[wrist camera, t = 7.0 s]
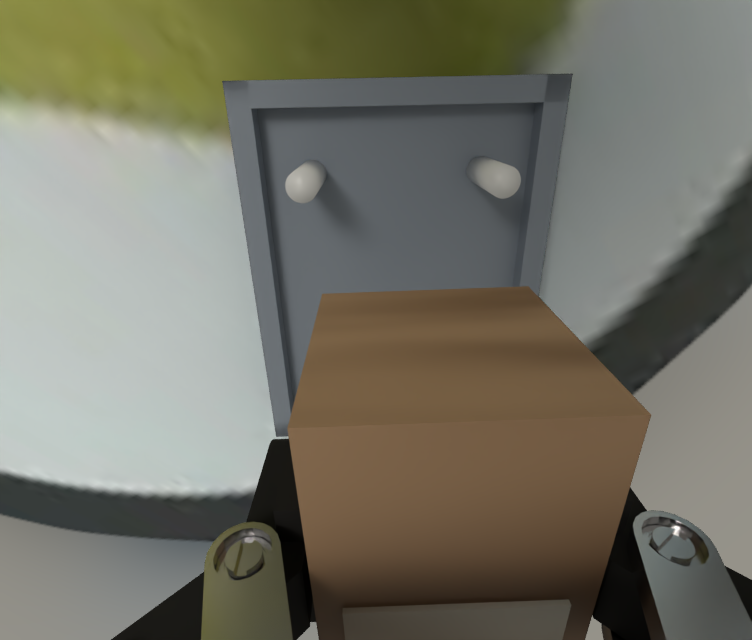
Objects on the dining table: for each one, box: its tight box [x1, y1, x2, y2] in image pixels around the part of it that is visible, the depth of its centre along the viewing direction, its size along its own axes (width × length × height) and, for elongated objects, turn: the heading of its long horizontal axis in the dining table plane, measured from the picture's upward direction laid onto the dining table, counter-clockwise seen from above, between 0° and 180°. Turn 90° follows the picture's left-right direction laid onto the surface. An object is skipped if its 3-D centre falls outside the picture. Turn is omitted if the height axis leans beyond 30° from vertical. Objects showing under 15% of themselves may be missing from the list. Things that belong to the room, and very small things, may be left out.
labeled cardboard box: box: [287, 286, 651, 640], centre depth 10 cm, size 8×5×5 cm, turn 2°
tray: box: [222, 74, 573, 437], centre depth 21 cm, size 18×14×5 cm
